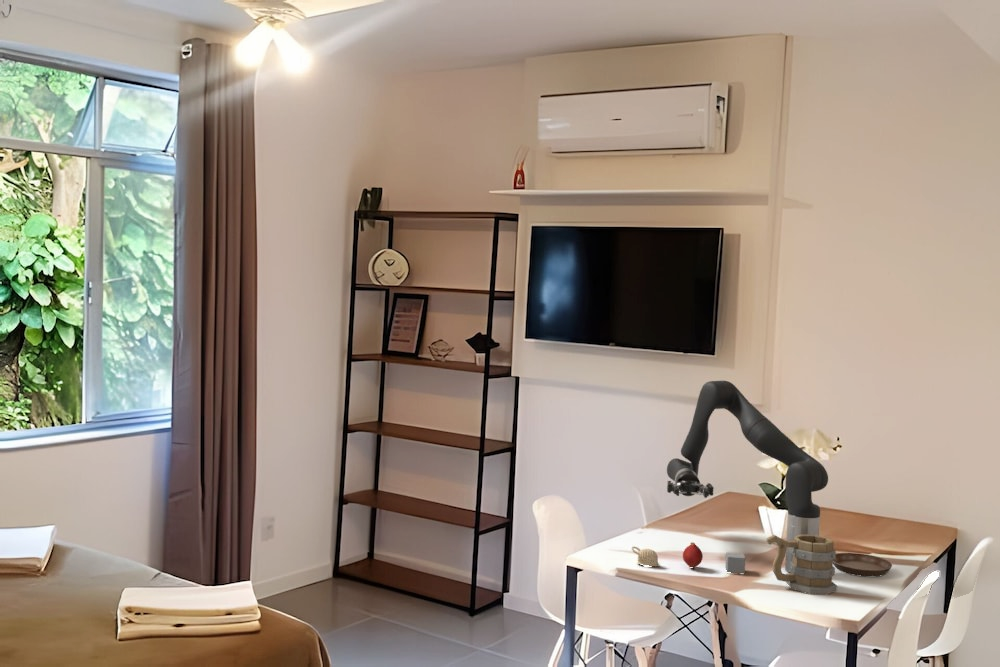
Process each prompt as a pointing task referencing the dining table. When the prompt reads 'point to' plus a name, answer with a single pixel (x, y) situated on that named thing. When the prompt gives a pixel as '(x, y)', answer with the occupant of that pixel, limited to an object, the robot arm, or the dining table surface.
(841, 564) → the plant saucer
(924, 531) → the dining table surface
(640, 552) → the decorative ornament
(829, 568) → the tankard
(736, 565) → the grey block
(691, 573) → the dining table surface
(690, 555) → the red squash
